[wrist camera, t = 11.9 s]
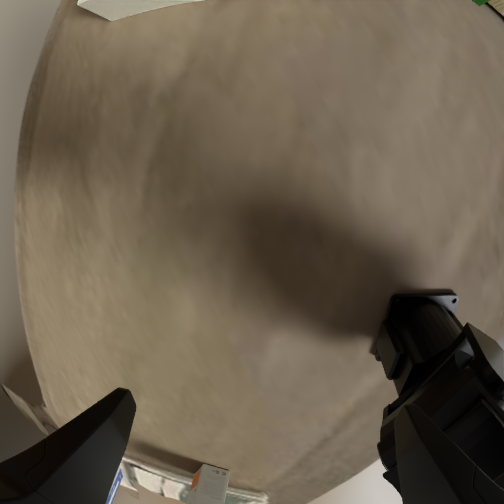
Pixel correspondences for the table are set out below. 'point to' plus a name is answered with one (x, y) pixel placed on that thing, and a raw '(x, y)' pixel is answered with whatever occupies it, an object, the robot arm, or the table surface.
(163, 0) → the base
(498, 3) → the hardback book
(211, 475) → the skincare box
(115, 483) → the blue product carton
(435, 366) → the robot arm
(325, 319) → the table surface
